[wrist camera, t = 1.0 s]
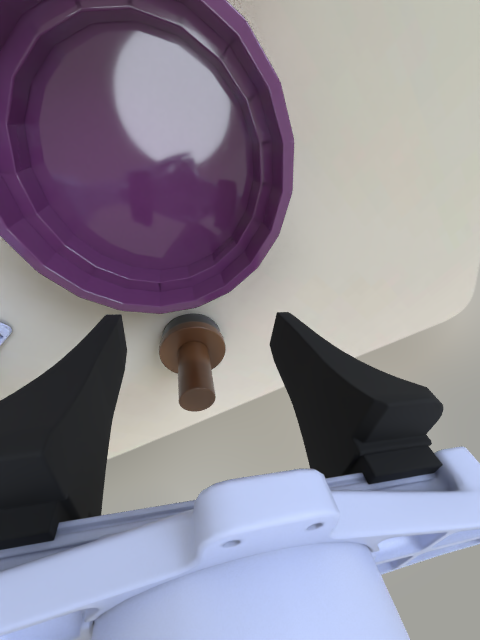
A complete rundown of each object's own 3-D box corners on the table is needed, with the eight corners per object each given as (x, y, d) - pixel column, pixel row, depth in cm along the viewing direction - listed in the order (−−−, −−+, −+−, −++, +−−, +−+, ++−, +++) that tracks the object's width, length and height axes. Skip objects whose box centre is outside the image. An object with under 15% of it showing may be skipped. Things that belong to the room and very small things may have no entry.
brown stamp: (192, 367, 28) (198, 432, 22) (146, 339, 25) (139, 406, 19) (234, 334, 26) (251, 394, 21) (190, 300, 23) (196, 360, 17)
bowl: (165, 313, 23) (164, 349, 20) (-55, 160, 15) (-125, 174, 11) (311, 179, 19) (343, 194, 16) (121, -134, 11) (96, -254, 7)
